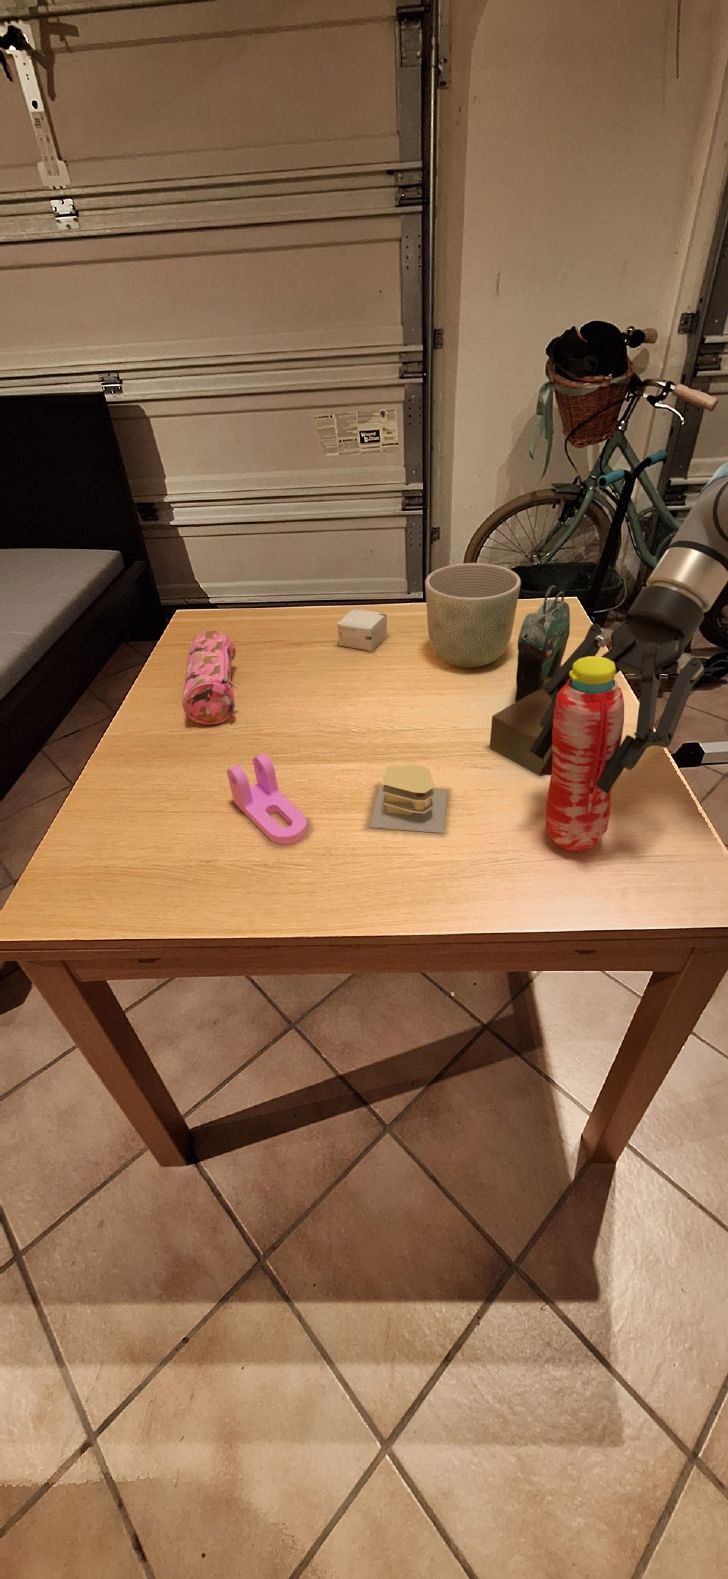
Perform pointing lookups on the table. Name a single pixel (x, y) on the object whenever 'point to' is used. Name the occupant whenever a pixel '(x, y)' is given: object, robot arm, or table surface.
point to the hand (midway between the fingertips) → (567, 771)
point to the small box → (362, 629)
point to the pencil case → (209, 679)
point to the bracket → (266, 802)
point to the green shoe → (542, 644)
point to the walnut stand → (521, 730)
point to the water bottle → (583, 753)
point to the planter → (471, 612)
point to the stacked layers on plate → (409, 801)
